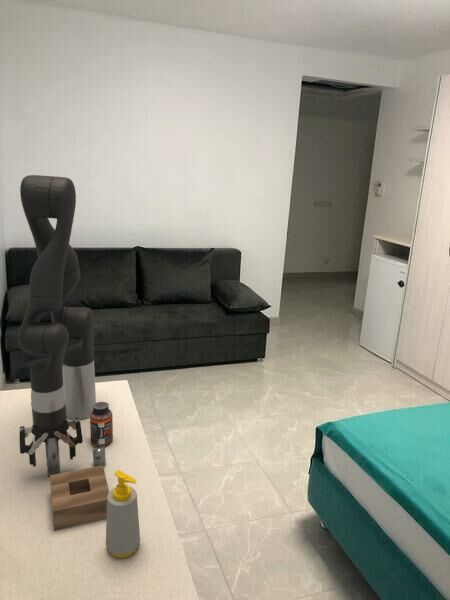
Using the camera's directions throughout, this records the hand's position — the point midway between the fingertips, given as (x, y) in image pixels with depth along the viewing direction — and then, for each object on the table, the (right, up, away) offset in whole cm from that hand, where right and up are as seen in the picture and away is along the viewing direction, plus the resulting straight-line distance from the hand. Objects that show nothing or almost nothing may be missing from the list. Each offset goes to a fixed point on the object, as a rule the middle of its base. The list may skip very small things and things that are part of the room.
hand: (53, 461), depth 119 cm
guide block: (+9, -7, -8) cm, 14 cm away
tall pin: (0, -3, +1) cm, 4 cm away
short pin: (+10, -3, +5) cm, 12 cm away
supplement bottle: (+8, 0, +15) cm, 17 cm away
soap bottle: (+21, -11, -19) cm, 31 cm away
